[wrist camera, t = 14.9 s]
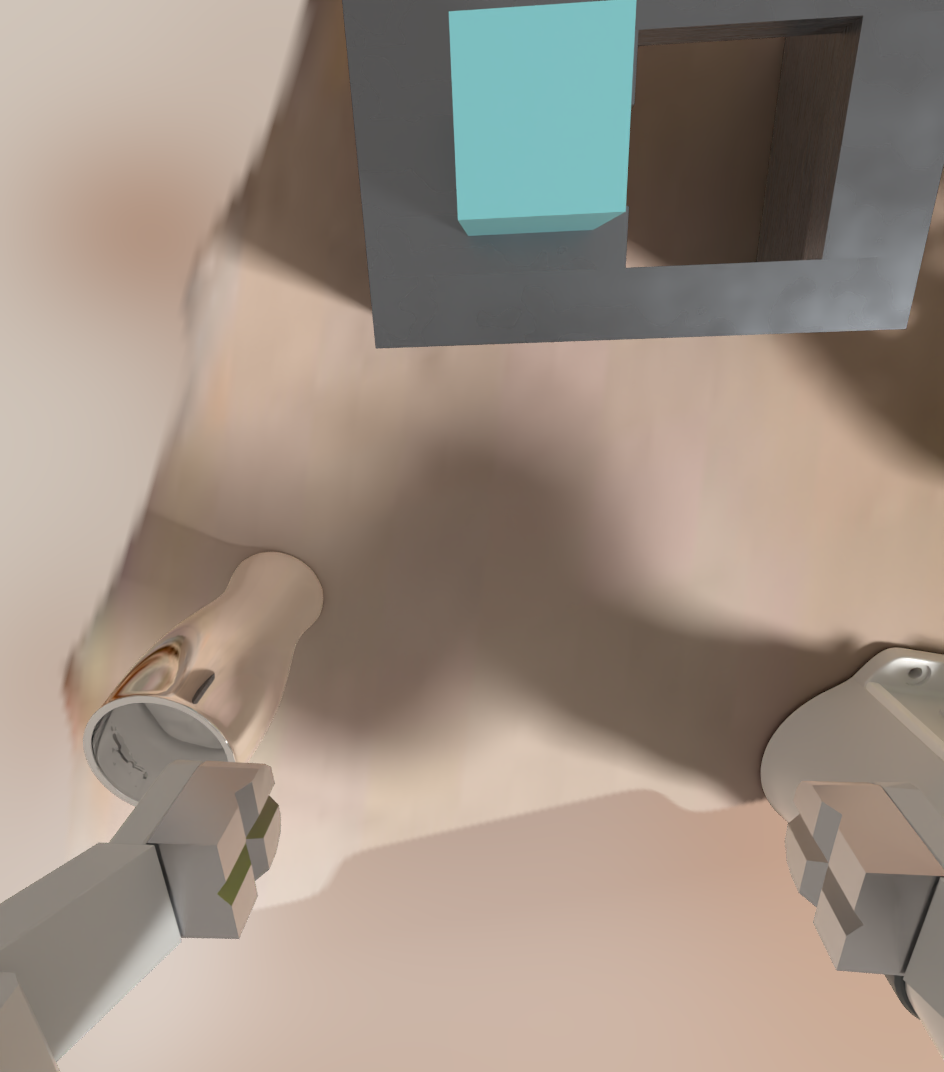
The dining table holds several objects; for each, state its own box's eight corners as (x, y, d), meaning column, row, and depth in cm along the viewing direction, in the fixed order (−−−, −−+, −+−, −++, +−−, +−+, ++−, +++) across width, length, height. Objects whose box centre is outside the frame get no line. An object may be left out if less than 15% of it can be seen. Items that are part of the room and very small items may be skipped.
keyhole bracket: (831, 31, 27) (1003, -99, 18) (787, 315, 32) (906, 328, 22) (390, 59, 28) (337, -50, 19) (410, 329, 33) (375, 348, 24)
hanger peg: (589, 101, 23) (647, -16, 14) (585, 243, 25) (634, 221, 16) (461, 109, 24) (437, -1, 14) (467, 249, 26) (449, 230, 16)
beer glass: (212, 613, 40) (63, 785, 26) (242, 526, 38) (95, 668, 24) (310, 653, 41) (215, 840, 27) (346, 571, 39) (261, 732, 25)
